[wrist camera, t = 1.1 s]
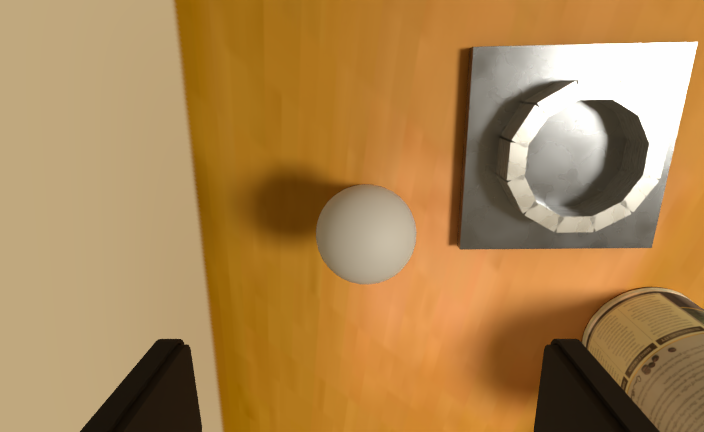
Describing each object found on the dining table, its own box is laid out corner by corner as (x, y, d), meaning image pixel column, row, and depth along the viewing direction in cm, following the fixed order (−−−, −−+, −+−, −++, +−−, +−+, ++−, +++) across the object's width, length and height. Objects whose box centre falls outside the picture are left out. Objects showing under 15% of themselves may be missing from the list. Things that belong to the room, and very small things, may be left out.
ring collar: (469, 48, 29) (483, 43, 26) (686, 43, 29) (729, 38, 25) (457, 244, 34) (467, 262, 31) (643, 243, 33) (674, 261, 30)
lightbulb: (317, 221, 34) (297, 285, 23) (340, 150, 32) (329, 184, 21) (388, 243, 34) (399, 316, 24) (415, 175, 32) (439, 220, 22)
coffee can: (714, 284, 34) (938, 414, 21) (686, 385, 38) (865, 554, 24) (589, 285, 35) (731, 414, 21) (571, 385, 38) (685, 552, 25)
